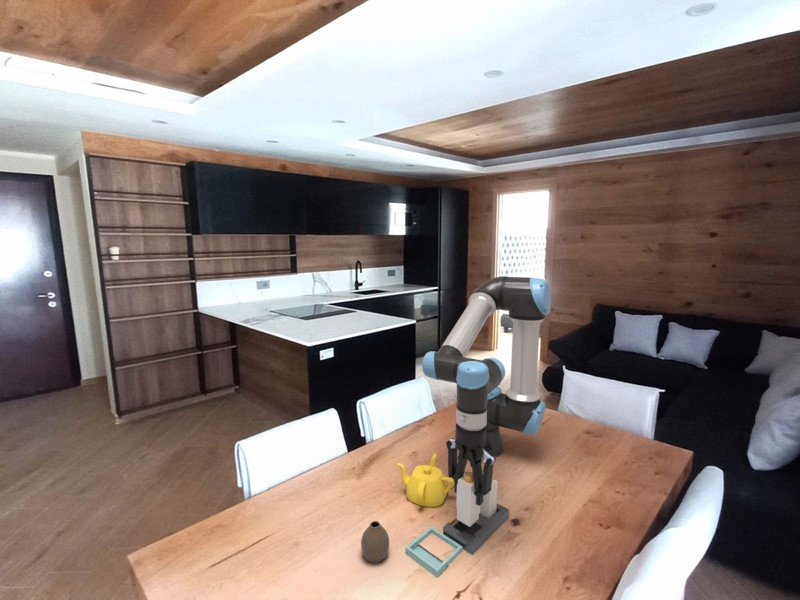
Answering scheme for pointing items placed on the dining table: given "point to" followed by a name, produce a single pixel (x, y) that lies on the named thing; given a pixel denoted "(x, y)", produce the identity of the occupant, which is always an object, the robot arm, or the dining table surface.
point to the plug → (466, 499)
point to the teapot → (426, 484)
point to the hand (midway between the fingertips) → (468, 509)
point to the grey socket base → (475, 530)
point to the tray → (428, 558)
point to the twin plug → (489, 502)
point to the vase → (375, 542)
